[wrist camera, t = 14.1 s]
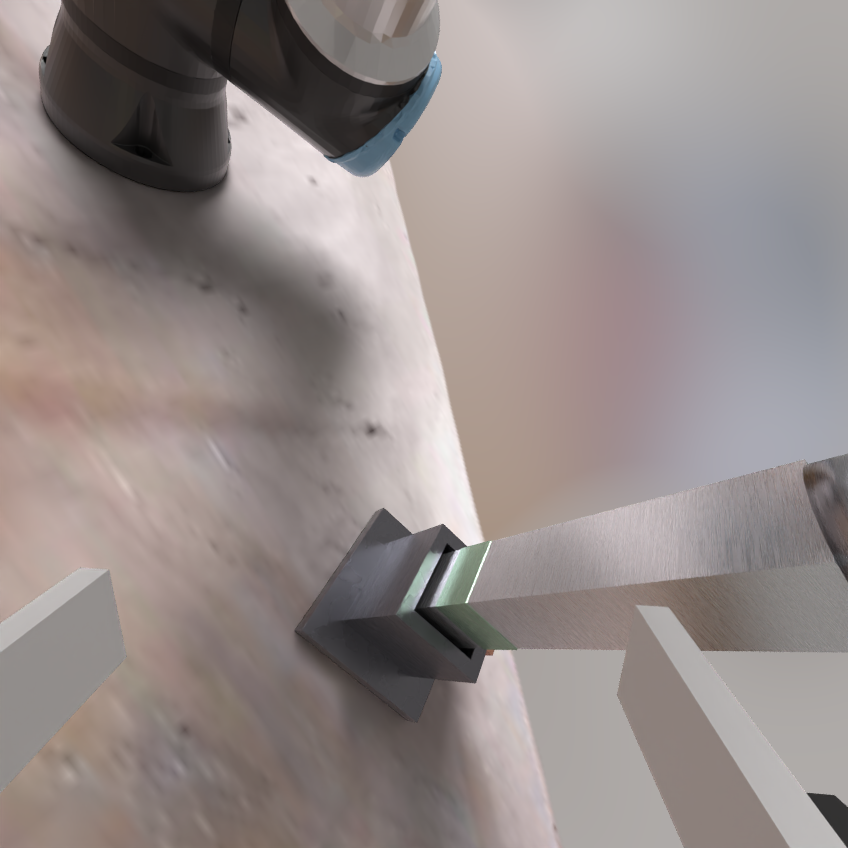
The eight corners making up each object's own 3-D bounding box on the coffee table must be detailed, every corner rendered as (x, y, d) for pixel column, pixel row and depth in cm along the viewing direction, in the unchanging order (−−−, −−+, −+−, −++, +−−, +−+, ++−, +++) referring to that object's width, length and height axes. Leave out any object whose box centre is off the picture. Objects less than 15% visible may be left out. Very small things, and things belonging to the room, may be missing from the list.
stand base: (375, 511, 39) (434, 483, 32) (461, 589, 41) (534, 578, 34) (294, 630, 31) (350, 626, 24) (406, 720, 33) (487, 740, 26)
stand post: (423, 544, 33) (842, 416, 14) (474, 591, 34) (924, 528, 15) (386, 613, 29) (904, 558, 10) (445, 664, 30) (1010, 696, 11)
